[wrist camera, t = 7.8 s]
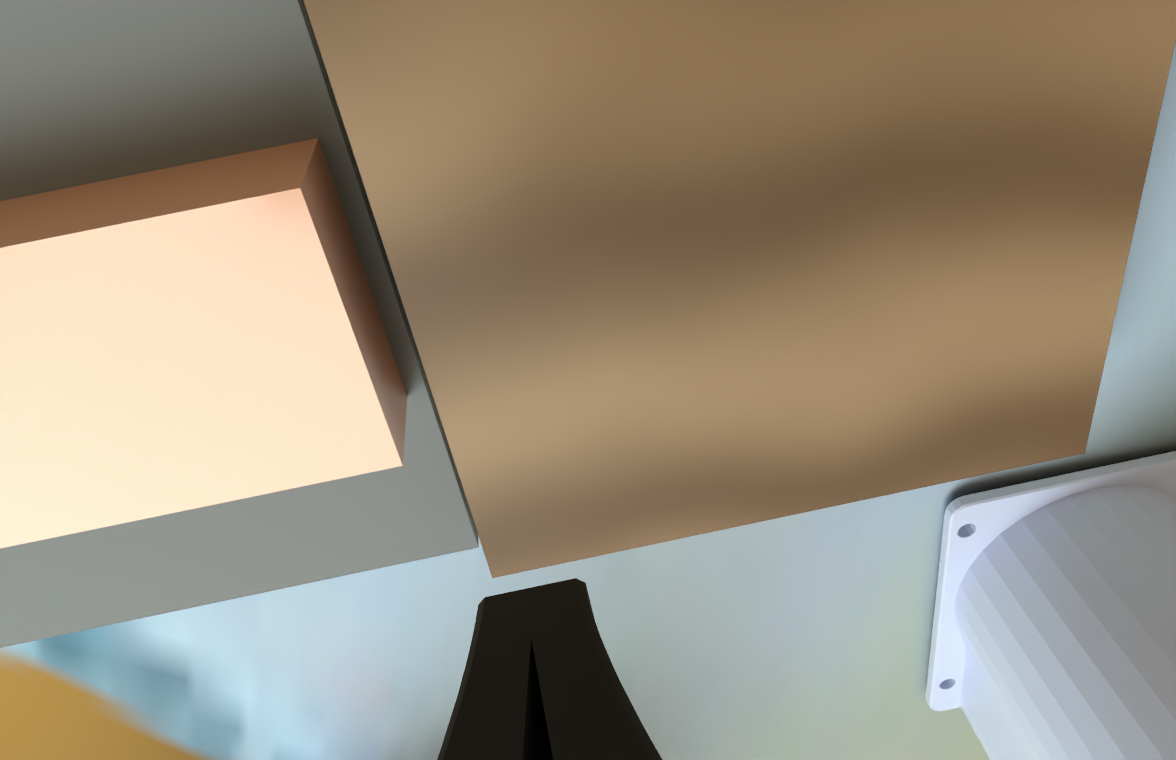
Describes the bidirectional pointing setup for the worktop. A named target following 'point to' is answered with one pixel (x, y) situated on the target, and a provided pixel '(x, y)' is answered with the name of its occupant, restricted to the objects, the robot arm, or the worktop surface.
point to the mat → (172, 138)
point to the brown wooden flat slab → (747, 243)
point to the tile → (186, 344)
